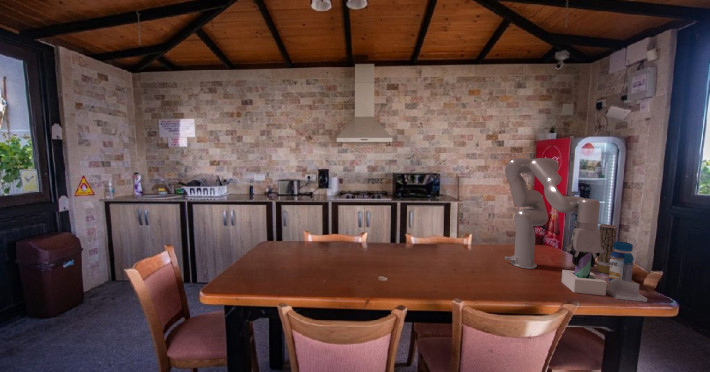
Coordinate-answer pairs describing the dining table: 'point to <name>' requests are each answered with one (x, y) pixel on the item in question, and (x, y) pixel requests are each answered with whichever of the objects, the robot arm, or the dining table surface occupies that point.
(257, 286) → the dining table surface
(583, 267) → the spray can
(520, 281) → the dining table surface
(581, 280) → the bore block
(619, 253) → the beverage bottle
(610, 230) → the wooden log
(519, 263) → the robot arm
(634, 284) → the v-block
